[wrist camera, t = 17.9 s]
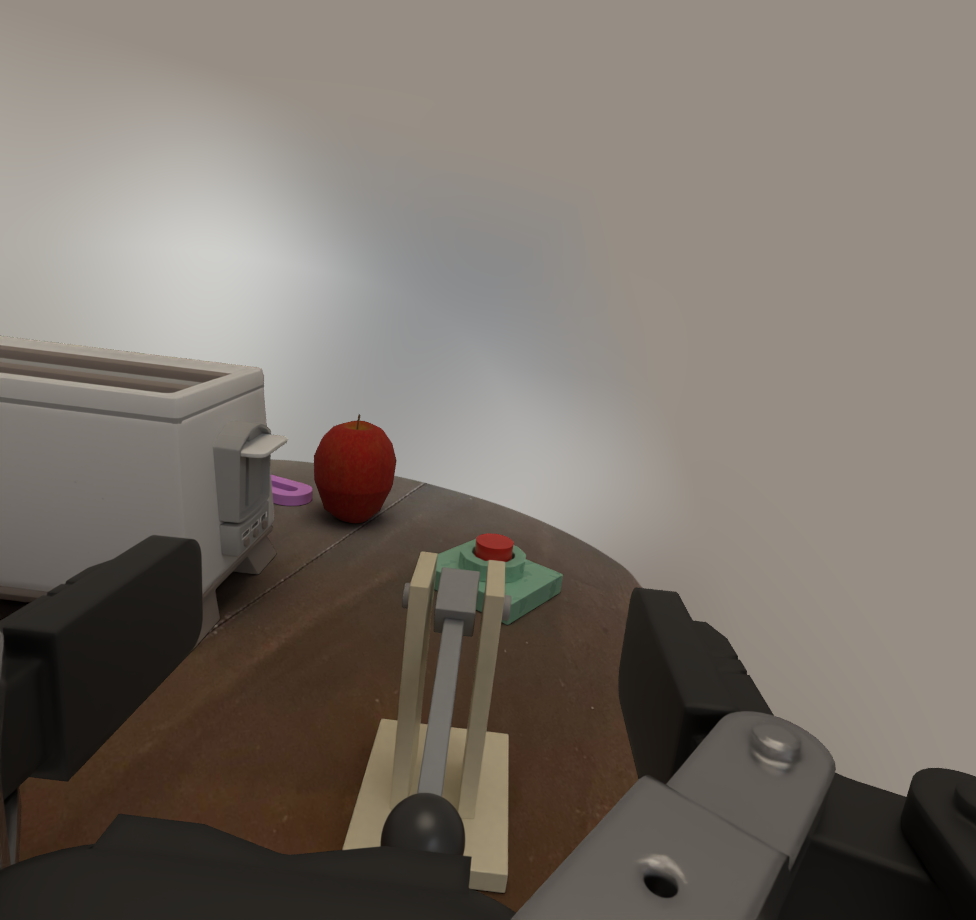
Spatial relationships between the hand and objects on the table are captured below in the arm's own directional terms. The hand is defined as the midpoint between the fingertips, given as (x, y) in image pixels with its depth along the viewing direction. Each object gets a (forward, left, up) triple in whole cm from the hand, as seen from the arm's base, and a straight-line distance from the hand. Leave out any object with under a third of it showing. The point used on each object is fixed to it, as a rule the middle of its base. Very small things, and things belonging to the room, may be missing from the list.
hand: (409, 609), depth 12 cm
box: (-21, -47, -26) cm, 58 cm away
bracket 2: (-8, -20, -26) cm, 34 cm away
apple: (-9, -67, -26) cm, 72 cm away
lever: (-6, -16, -16) cm, 23 cm away
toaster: (+17, -53, -26) cm, 61 cm away
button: (-21, -47, -22) cm, 56 cm away
